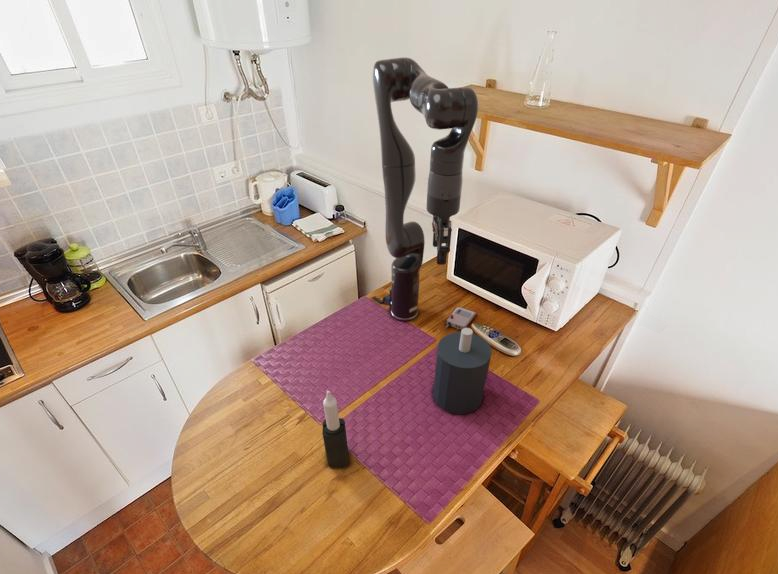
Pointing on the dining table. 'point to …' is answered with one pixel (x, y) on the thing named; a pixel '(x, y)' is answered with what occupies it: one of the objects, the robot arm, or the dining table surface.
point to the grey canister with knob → (461, 371)
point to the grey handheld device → (460, 318)
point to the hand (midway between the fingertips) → (439, 254)
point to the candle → (334, 434)
